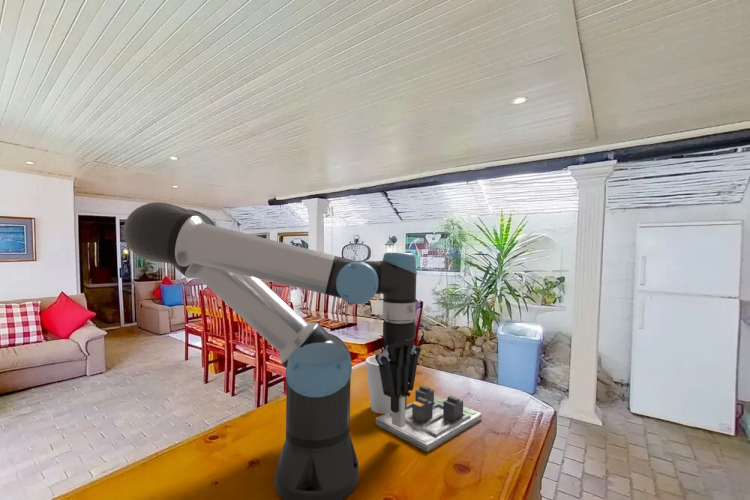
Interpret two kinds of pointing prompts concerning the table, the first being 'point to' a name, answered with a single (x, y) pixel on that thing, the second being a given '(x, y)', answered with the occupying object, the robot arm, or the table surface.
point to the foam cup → (376, 388)
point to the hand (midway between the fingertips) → (398, 424)
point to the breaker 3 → (452, 408)
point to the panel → (429, 426)
